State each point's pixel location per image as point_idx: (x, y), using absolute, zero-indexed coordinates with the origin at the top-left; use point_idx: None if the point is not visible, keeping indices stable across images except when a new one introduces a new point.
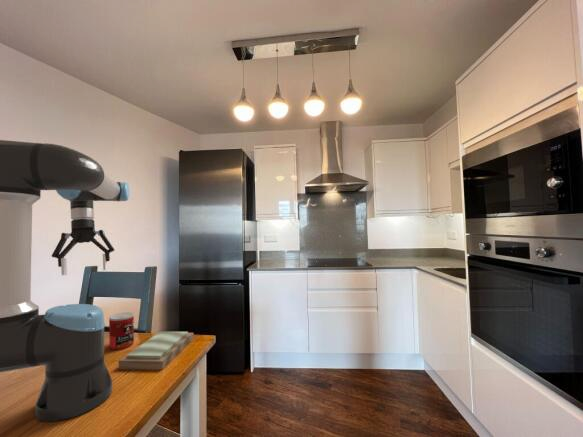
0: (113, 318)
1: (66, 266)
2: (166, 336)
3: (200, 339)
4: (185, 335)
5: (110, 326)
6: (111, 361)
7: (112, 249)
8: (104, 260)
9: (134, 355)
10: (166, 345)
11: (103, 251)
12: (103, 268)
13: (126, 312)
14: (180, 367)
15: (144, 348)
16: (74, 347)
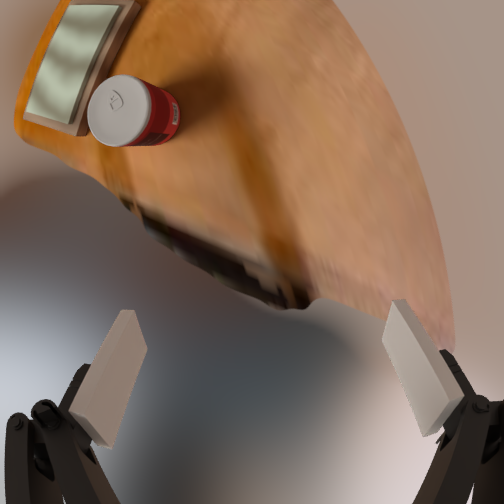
0: (136, 92)
1: (401, 383)
2: (56, 89)
3: None
4: (31, 98)
5: (152, 87)
6: (160, 36)
7: (10, 421)
8: (97, 363)
9: (106, 5)
10: (57, 43)
11: (70, 435)
12: (128, 316)
13: (109, 143)
14: (58, 12)
15: (90, 31)
16: None
